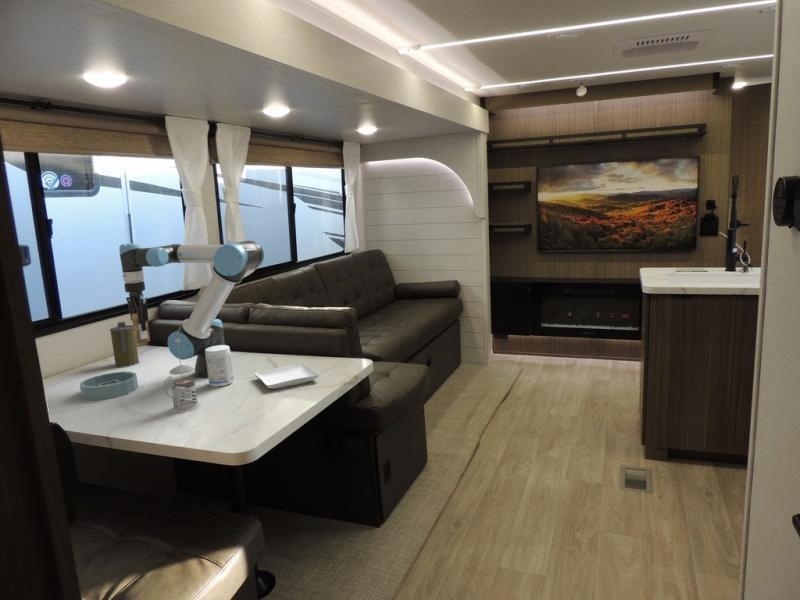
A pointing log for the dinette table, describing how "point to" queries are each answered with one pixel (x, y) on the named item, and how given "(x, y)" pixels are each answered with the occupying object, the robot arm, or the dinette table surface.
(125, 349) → the canister
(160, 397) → the dinette table surface
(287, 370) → the salad plate
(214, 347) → the supplement tub
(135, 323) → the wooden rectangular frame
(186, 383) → the french press
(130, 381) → the shallow blue tray
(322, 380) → the dinette table surface
